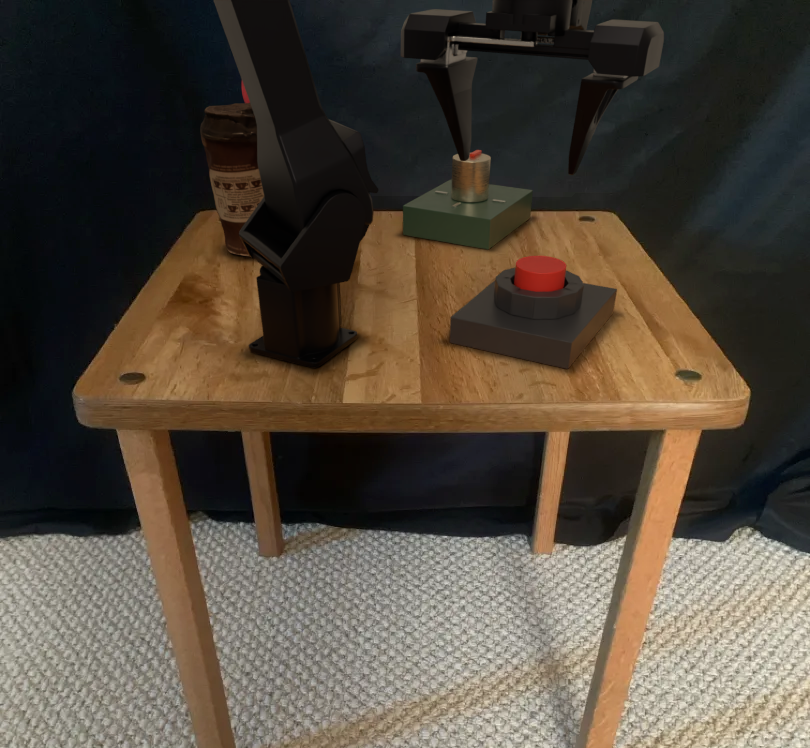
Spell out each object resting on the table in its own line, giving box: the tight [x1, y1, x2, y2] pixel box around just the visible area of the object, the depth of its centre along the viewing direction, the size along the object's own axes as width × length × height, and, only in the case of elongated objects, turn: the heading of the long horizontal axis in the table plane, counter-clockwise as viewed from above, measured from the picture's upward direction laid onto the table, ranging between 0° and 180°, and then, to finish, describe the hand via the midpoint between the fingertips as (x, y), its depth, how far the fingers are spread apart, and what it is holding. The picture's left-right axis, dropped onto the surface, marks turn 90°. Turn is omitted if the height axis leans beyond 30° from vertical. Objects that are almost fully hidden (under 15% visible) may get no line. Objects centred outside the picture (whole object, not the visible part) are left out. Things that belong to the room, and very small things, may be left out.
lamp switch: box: [449, 267, 618, 370], centre depth 65 cm, size 12×10×4 cm
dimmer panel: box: [402, 178, 534, 250], centre depth 86 cm, size 12×10×3 cm
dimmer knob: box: [451, 149, 492, 202], centre depth 84 cm, size 4×4×4 cm
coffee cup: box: [199, 102, 264, 257], centre depth 77 cm, size 9×8×13 cm
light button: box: [514, 255, 567, 292], centre depth 63 cm, size 4×4×2 cm
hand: (517, 166), depth 64 cm, fingers open, 9 cm apart
